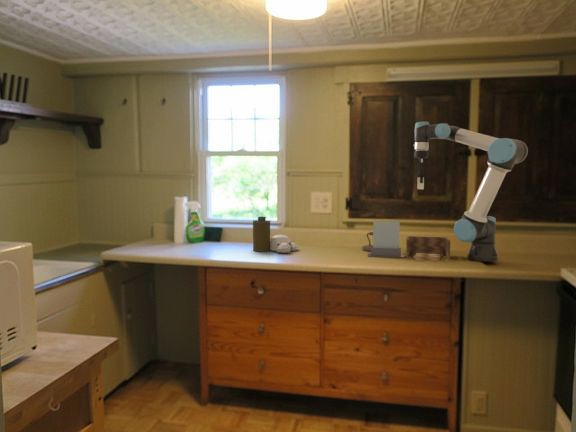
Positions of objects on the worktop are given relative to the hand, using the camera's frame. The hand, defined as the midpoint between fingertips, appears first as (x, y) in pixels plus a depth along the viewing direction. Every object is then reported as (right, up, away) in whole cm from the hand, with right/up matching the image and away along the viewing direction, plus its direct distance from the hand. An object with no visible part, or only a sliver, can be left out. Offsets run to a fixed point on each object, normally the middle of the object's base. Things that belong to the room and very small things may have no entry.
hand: (420, 189), depth 257 cm
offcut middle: (0, -37, -13) cm, 40 cm away
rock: (-77, -36, +17) cm, 87 cm away
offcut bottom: (0, -39, -13) cm, 41 cm away
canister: (-89, -35, +18) cm, 98 cm away
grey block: (-20, -37, -3) cm, 42 cm away
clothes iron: (-26, -37, +15) cm, 48 cm away
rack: (+3, -37, -4) cm, 37 cm away
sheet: (-20, -36, -3) cm, 42 cm away
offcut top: (0, -36, -14) cm, 39 cm away
